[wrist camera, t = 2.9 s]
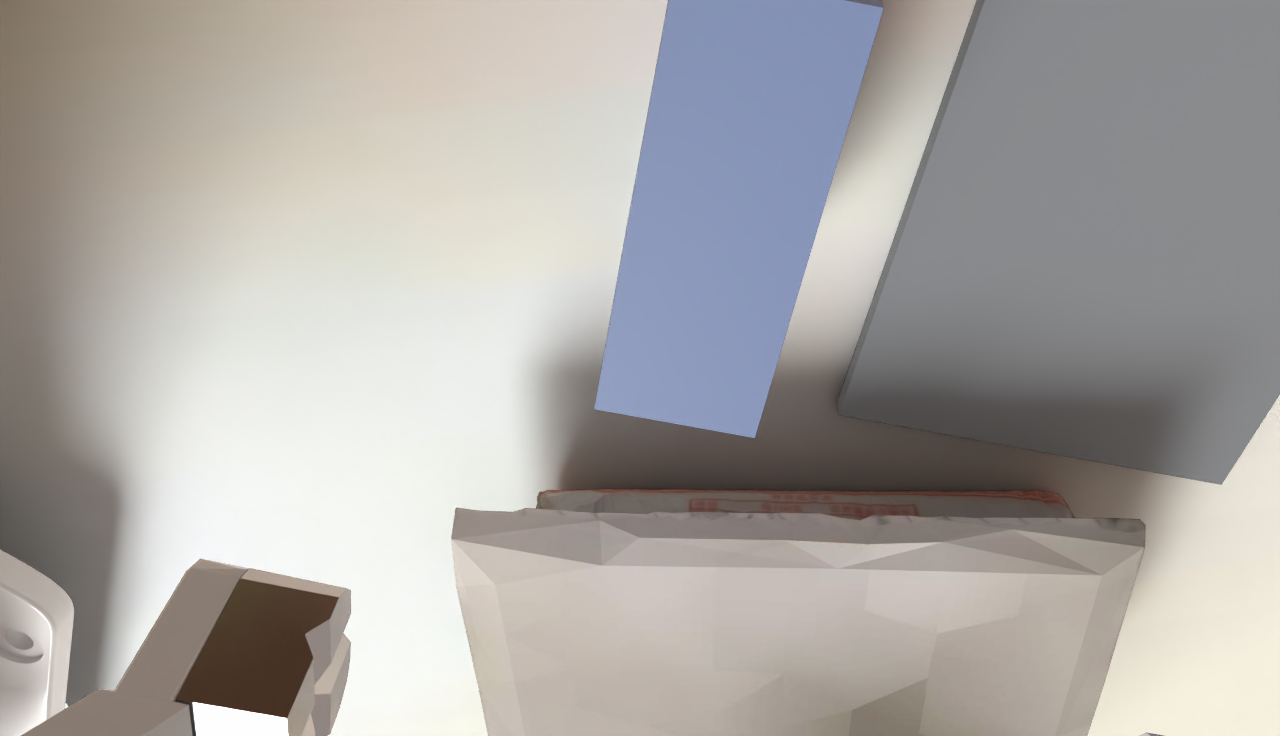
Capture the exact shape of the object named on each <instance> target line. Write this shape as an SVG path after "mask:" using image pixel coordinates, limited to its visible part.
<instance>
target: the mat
mask: <svg viewBox="0 0 1280 736" xmlns="http://www.w3.org/2000/svg"><path fill="white" fill-rule="evenodd" d="M1279 395H1280V0H977V1H976V4H975V7H974V10H973V13H972V16H971V19H970V22H969V24H968V27H967V30H966V33H965V36H964V39H963V42H962V45H961V47H960V50H959V53H958V56H957V59H956V62H955V65H954V67H953V70H952V73H951V76H950V79H949V82H948V85H947V88H946V90H945V93H944V96H943V99H942V102H941V105H940V108H939V111H938V113H937V116H936V119H935V122H934V125H933V128H932V131H931V134H930V136H929V139H928V142H927V145H926V148H925V151H924V154H923V157H922V159H921V162H920V165H919V168H918V171H917V174H916V177H915V179H914V182H913V185H912V188H911V191H910V194H909V197H908V200H907V202H906V205H905V208H904V211H903V214H902V217H901V220H900V223H899V225H898V228H897V231H896V234H895V237H894V240H893V243H892V246H891V248H890V251H889V254H888V257H887V260H886V263H885V266H884V268H883V271H882V274H881V277H880V280H879V283H878V286H877V289H876V291H875V294H874V297H873V300H872V303H871V306H870V309H869V312H868V314H867V317H866V320H865V323H864V326H863V329H862V332H861V335H860V337H859V340H858V343H857V346H856V349H855V352H854V355H853V357H852V360H851V363H850V366H849V369H848V372H847V375H846V378H845V380H844V383H843V386H842V389H841V392H840V395H839V398H838V401H837V406H838V414H839V415H841V416H847V417H852V418H858V419H863V420H869V421H874V422H880V423H885V424H891V425H896V426H902V427H907V428H913V429H918V430H924V431H929V432H935V433H940V434H946V435H951V436H957V437H962V438H968V439H973V440H979V441H984V442H990V443H995V444H1001V445H1006V446H1012V447H1017V448H1023V449H1028V450H1034V451H1039V452H1045V453H1050V454H1056V455H1061V456H1067V457H1072V458H1078V459H1083V460H1089V461H1094V462H1100V463H1105V464H1111V465H1116V466H1122V467H1127V468H1133V469H1138V470H1144V471H1149V472H1155V473H1160V474H1166V475H1171V476H1177V477H1182V478H1188V479H1193V480H1199V481H1204V482H1210V483H1215V484H1221V485H1222V483H1223V481H1224V480H1225V478H1226V477H1227V475H1228V474H1229V472H1230V471H1231V469H1232V468H1233V466H1234V464H1235V463H1236V461H1237V460H1238V458H1239V457H1240V455H1241V454H1242V452H1243V451H1244V449H1245V447H1246V446H1247V444H1248V443H1249V441H1250V440H1251V438H1252V437H1253V435H1254V434H1255V432H1256V430H1257V429H1258V427H1259V426H1260V424H1261V423H1262V421H1263V420H1264V418H1265V417H1266V415H1267V413H1268V412H1269V410H1270V409H1271V407H1272V406H1273V404H1274V403H1275V401H1276V399H1277V398H1278V396H1279Z"/></svg>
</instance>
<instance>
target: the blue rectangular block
mask: <svg viewBox="0 0 1280 736" xmlns="http://www.w3.org/2000/svg"><path fill="white" fill-rule="evenodd" d="M883 9H884V7H883V5H882V2H881V0H668V4H667V10H666V15H665V21H664V26H663V32H662V37H661V43H660V48H659V54H658V59H657V64H656V70H655V75H654V81H653V86H652V92H651V97H650V103H649V108H648V114H647V119H646V124H645V130H644V135H643V141H642V146H641V152H640V157H639V163H638V168H637V174H636V179H635V185H634V190H633V195H632V201H631V206H630V212H629V217H628V223H627V228H626V234H625V239H624V245H623V250H622V256H621V261H620V267H619V272H618V278H617V284H616V289H615V295H614V301H613V306H612V312H611V317H610V323H609V329H608V334H607V340H606V345H605V351H604V357H603V362H602V368H601V373H600V379H599V385H598V390H597V396H596V402H595V407H594V409H596V410H601V411H607V412H612V413H618V414H623V415H629V416H634V417H640V418H646V419H651V420H657V421H662V422H668V423H673V424H679V425H684V426H690V427H696V428H701V429H707V430H712V431H718V432H723V433H729V434H734V435H740V436H745V437H751V438H755V436H756V432H757V429H758V426H759V422H760V419H761V416H762V412H763V409H764V406H765V402H766V399H767V396H768V392H769V389H770V386H771V382H772V379H773V376H774V372H775V369H776V366H777V362H778V359H779V356H780V352H781V349H782V346H783V342H784V339H785V336H786V332H787V329H788V326H789V322H790V319H791V316H792V312H793V309H794V306H795V302H796V299H797V296H798V292H799V289H800V286H801V282H802V279H803V276H804V272H805V269H806V266H807V262H808V259H809V256H810V252H811V249H812V246H813V242H814V239H815V236H816V232H817V229H818V226H819V222H820V219H821V216H822V212H823V209H824V206H825V202H826V199H827V196H828V192H829V189H830V186H831V182H832V179H833V176H834V172H835V169H836V166H837V162H838V159H839V156H840V152H841V149H842V146H843V142H844V139H845V136H846V132H847V129H848V126H849V122H850V119H851V116H852V112H853V109H854V106H855V102H856V99H857V95H858V92H859V89H860V85H861V82H862V79H863V75H864V72H865V69H866V65H867V62H868V59H869V55H870V52H871V49H872V45H873V42H874V39H875V35H876V32H877V29H878V25H879V22H880V19H881V15H882V12H883Z"/></svg>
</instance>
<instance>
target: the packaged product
mask: <svg viewBox="0 0 1280 736" xmlns="http://www.w3.org/2000/svg"><path fill="white" fill-rule="evenodd" d="M537 501H538V503H537V506H536V509H533V508H525V509H521V510H518V511H514V512H502V511H478V510H470V509H462V508H456V510H455V517H454V524H453V531H452V539H451V540H452V550H453V559H454V569H455V579H456V588H457V592H458V597H459V601H460V606H461V610H462V615H463V619H464V624H465V628H466V633H467V637H468V642H469V647H470V651H471V656H472V660H473V665H474V669H475V674H476V678H477V683H478V687H479V692H480V697H481V702H482V707H483V712H484V718H485V722H486V727H487V732H488V736H1087V735H1088V732H1089V729H1090V726H1091V723H1092V720H1093V717H1094V713H1095V710H1096V707H1097V704H1098V701H1099V698H1100V695H1101V692H1102V689H1103V686H1104V683H1105V679H1106V676H1107V672H1108V669H1109V666H1110V662H1111V659H1112V656H1113V652H1114V649H1115V646H1116V642H1117V639H1118V636H1119V632H1120V629H1121V625H1122V622H1123V619H1124V615H1125V612H1126V609H1127V605H1128V602H1129V599H1130V595H1131V592H1132V589H1133V585H1134V582H1135V578H1136V575H1137V572H1138V568H1139V565H1140V562H1141V558H1142V555H1143V552H1144V548H1145V526H1146V525H1145V524H1144V523H1143V522H1142V521H1141V520H1140V519H1120V518H1074V516H1073V514H1072V512H1071V511H1070V509H1069V507H1068V505H1067V504H1066V502H1065V501H1064V500H1063V499H1062V497H1061V496H1060V495H1059V494H1056V493H1051V492H1044V491H1007V492H997V491H970V492H943V491H921V492H914V491H896V492H887V491H758V490H685V489H665V490H639V489H590V490H546V491H544V492H539V494H538V496H537Z"/></svg>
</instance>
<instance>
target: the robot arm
mask: <svg viewBox="0 0 1280 736" xmlns="http://www.w3.org/2000/svg"><path fill="white" fill-rule="evenodd" d="M350 614H351V590H349V589H346V588H342V587H337V586H333V585H328V584H323V583H318V582H314V581H309V580H304V579H299V578H294V577H290V576H285V575H280V574H275V573H271V572H266V571H261V570H256V569H251V568H245V567H240V566H235V565H230V564H225V563H219V562H214V561H209V560H204V559H199V560H198V561H197V562H196V563H195V564H194V565H192V566H191V567H190V568H189V569H188V570H187V571H186V573H185V574H184V576H183V577H182V579H181V581H180V582H179V584H178V586H177V587H176V589H175V591H174V592H173V594H172V596H171V597H170V599H169V601H168V602H167V604H166V606H165V607H164V609H163V611H162V612H161V614H160V616H159V617H158V619H157V621H156V622H155V624H154V626H153V627H152V629H151V631H150V632H149V634H148V636H147V637H146V639H145V641H144V642H143V644H142V646H141V647H140V649H139V650H138V652H137V654H136V655H135V657H134V659H133V660H132V662H131V664H130V665H129V667H128V669H127V670H126V672H125V674H124V675H123V677H122V679H121V680H120V682H119V684H118V685H117V687H116V689H115V690H114V691H113V690H107V689H100V688H99V689H97V690H95V691H94V692H92V693H90V694H89V695H87V696H85V697H84V698H82V699H80V700H79V701H77V702H76V703H74V704H72V705H71V706H69V707H67V708H66V709H65V702H66V692H67V682H68V672H69V661H70V651H71V641H72V631H73V620H74V606H73V603H72V600H71V599H70V597H69V596H68V594H67V593H66V592H65V591H64V590H63V589H62V588H61V587H60V586H59V585H58V584H56V583H55V582H54V581H52V580H51V579H49V578H48V577H47V576H45V575H44V574H42V573H40V572H39V571H37V570H35V569H34V568H32V567H31V566H29V565H27V564H25V563H24V562H22V561H20V560H18V559H17V558H15V557H13V556H11V555H9V554H8V553H6V552H4V551H2V550H0V736H327V735H329V734H330V733H331V730H332V727H333V725H334V722H335V719H336V716H337V714H338V711H339V708H340V704H341V701H342V697H343V693H344V689H345V685H346V682H347V677H348V670H349V663H350V647H351V642H350V641H349V639H348V638H347V637H346V636H345V635H344V633H343V632H344V629H345V627H346V624H347V622H348V619H349V617H350ZM1140 736H1163V735H1157V734H1151V733H1144V734H1142V735H1140Z"/></svg>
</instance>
